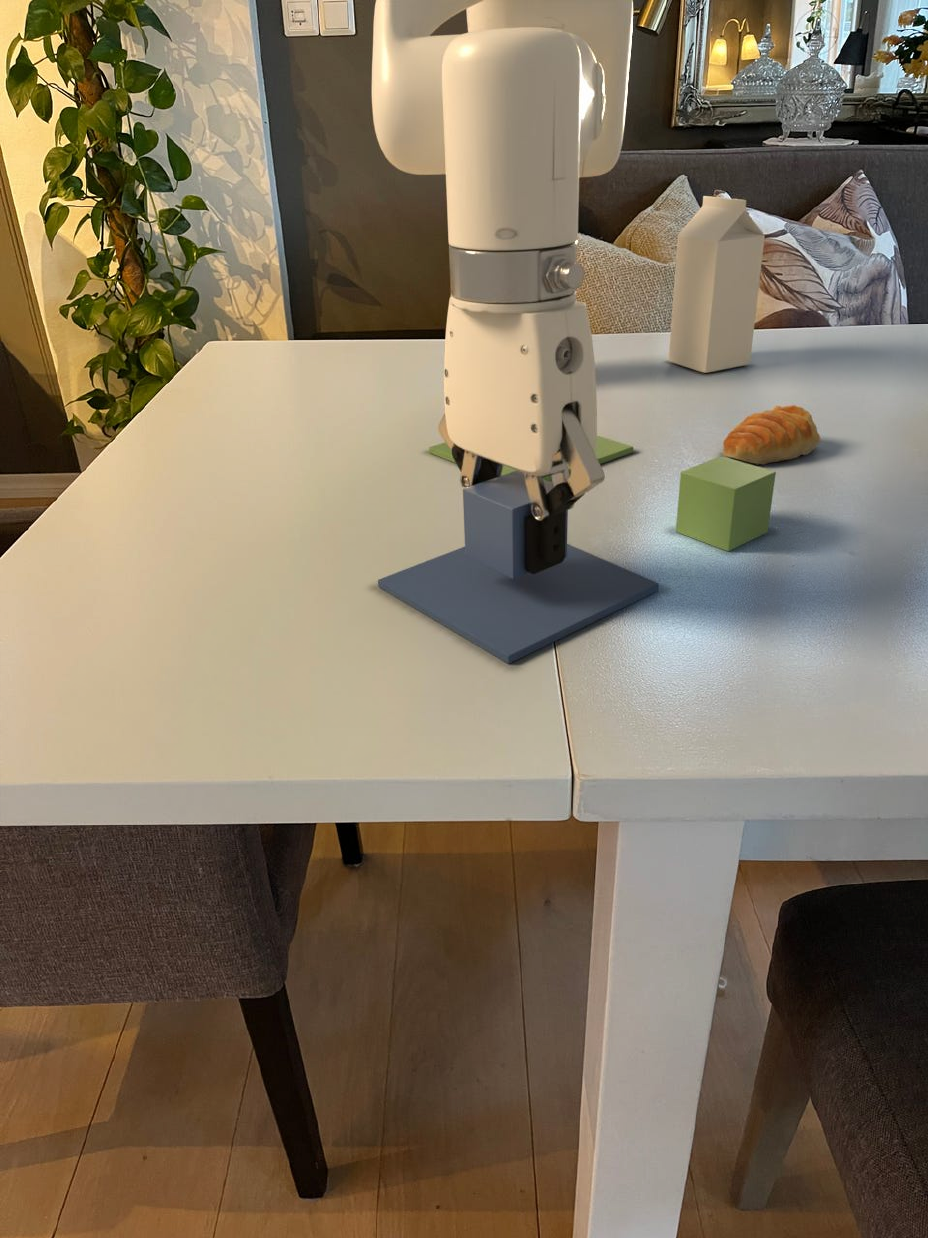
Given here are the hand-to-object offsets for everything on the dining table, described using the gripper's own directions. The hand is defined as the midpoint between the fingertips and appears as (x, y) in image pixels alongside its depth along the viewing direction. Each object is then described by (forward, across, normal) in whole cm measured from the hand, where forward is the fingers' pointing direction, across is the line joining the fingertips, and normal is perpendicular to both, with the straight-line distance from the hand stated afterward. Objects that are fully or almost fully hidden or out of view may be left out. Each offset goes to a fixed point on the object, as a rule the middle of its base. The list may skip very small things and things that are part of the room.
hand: (515, 550), depth 63 cm
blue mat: (+3, 0, 0) cm, 3 cm away
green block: (+3, -4, -18) cm, 19 cm away
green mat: (+3, +20, -20) cm, 28 cm away
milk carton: (+3, +28, -58) cm, 64 cm away
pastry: (+3, +4, -36) cm, 36 cm away
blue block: (0, 0, 0) cm, 0 cm away
